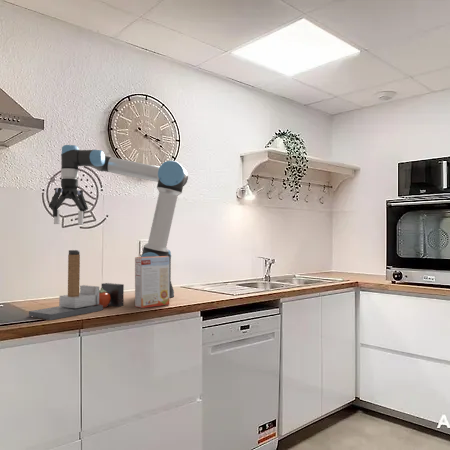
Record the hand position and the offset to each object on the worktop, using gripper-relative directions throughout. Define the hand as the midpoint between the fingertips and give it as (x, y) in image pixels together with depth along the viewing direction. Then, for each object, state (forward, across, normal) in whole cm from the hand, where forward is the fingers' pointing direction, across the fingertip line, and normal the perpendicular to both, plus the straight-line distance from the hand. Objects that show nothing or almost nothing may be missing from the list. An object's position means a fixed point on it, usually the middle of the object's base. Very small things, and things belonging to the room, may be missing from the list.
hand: (69, 224), depth 202 cm
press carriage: (+32, +18, +29) cm, 47 cm away
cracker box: (+35, -7, +44) cm, 57 cm away
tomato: (+35, +7, +29) cm, 46 cm away
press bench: (+35, +18, +29) cm, 49 cm away
